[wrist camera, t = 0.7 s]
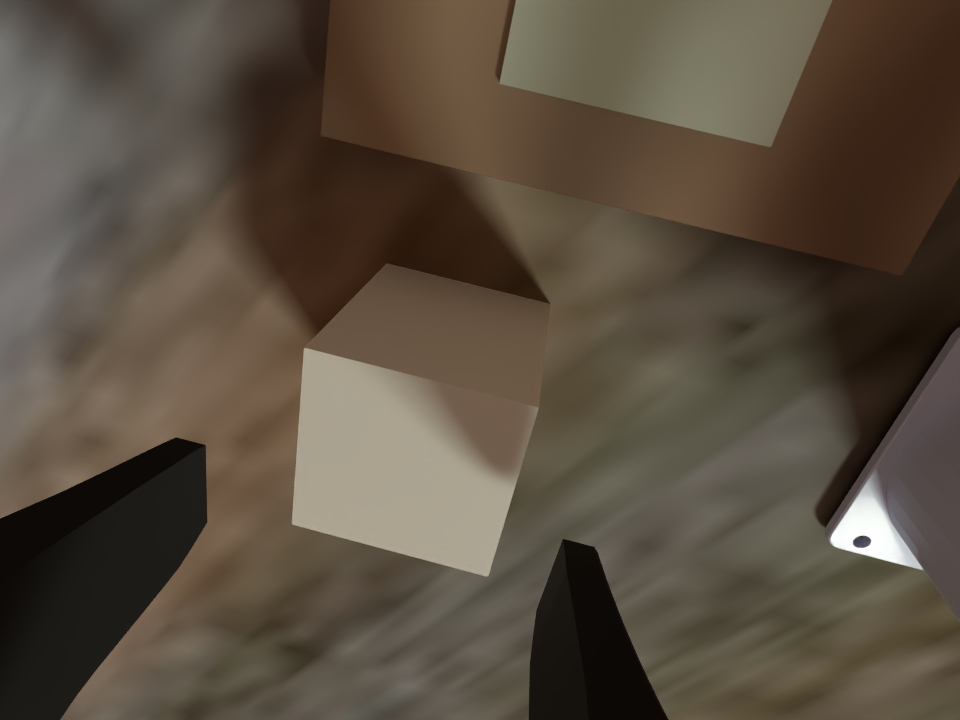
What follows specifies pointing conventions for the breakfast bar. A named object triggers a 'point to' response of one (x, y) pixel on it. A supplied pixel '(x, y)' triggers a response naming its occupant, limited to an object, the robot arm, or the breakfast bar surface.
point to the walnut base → (673, 108)
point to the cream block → (419, 416)
